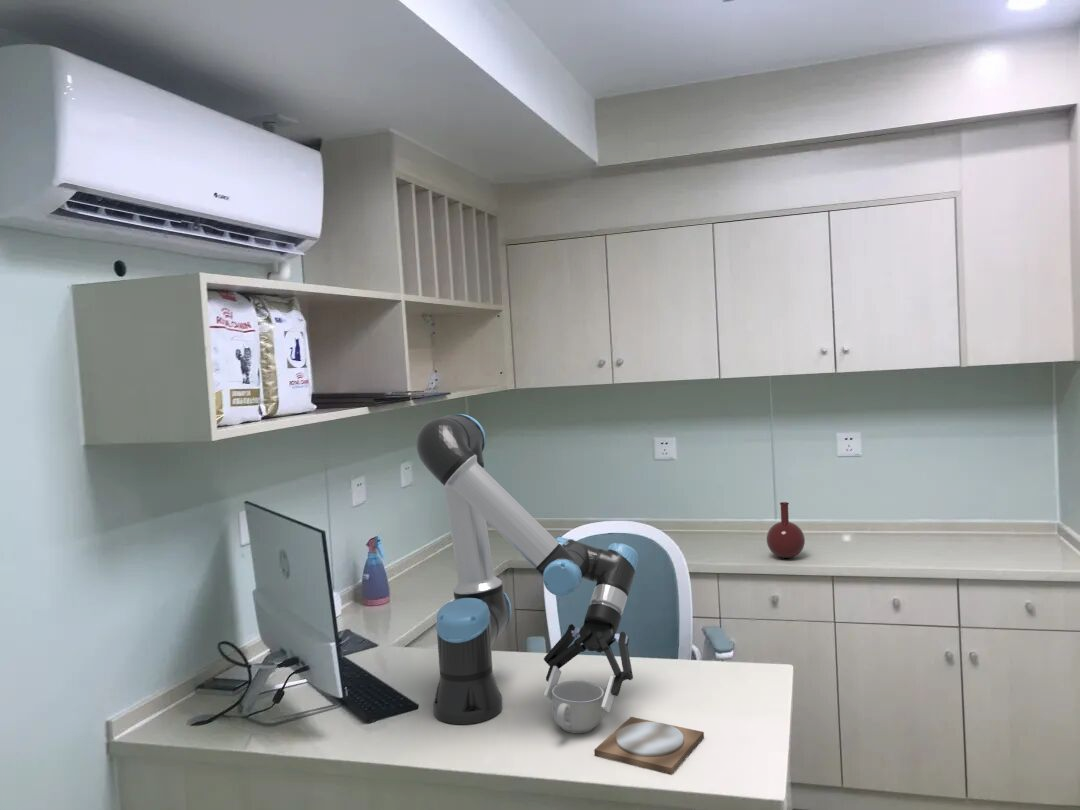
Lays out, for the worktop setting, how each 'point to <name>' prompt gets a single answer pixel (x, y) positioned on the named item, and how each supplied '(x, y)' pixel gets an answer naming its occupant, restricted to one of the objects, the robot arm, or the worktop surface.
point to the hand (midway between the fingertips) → (575, 703)
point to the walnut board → (650, 744)
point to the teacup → (577, 705)
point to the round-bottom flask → (785, 536)
